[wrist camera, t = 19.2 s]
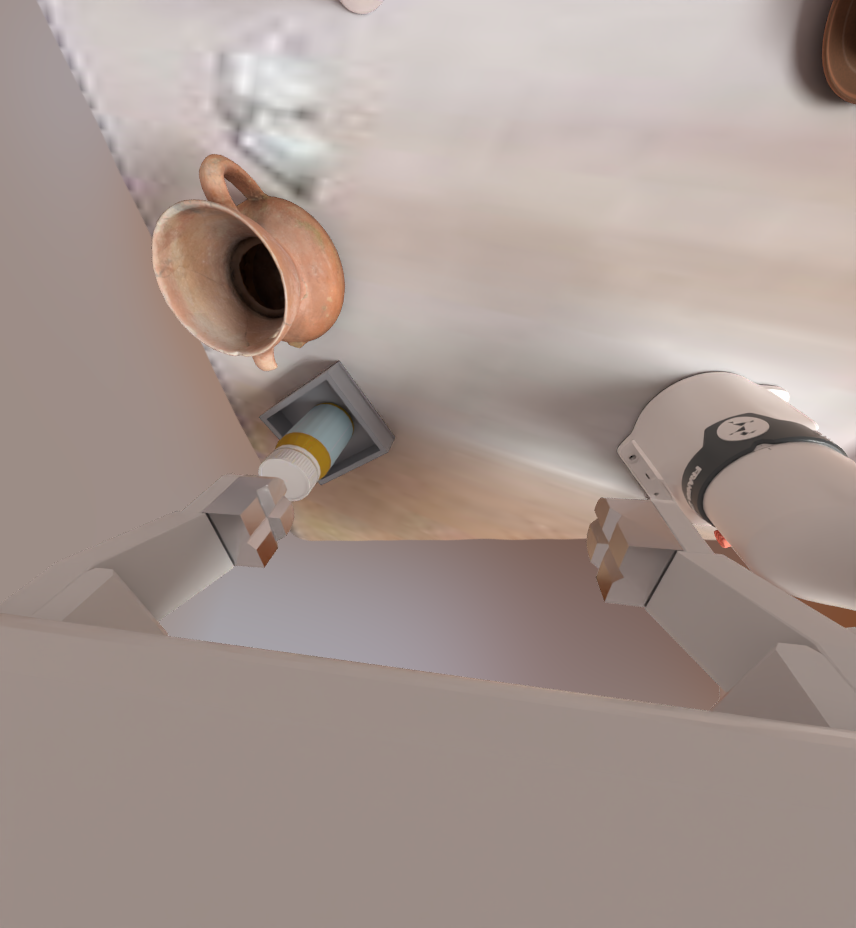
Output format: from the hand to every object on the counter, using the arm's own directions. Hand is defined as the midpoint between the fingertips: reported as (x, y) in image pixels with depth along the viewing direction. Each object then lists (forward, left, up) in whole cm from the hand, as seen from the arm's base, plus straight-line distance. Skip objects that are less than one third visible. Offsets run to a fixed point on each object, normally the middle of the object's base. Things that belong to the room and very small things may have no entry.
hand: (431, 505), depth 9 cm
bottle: (-4, +26, -36) cm, 45 cm away
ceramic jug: (+14, +17, -37) cm, 43 cm away
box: (-4, +26, -37) cm, 45 cm away
